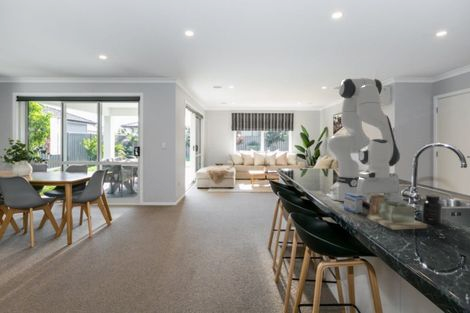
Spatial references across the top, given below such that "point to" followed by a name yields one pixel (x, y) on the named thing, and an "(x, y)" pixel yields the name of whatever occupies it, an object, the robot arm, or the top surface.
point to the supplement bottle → (432, 210)
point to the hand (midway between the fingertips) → (377, 202)
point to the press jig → (396, 216)
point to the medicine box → (353, 202)
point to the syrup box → (393, 197)
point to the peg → (376, 203)
